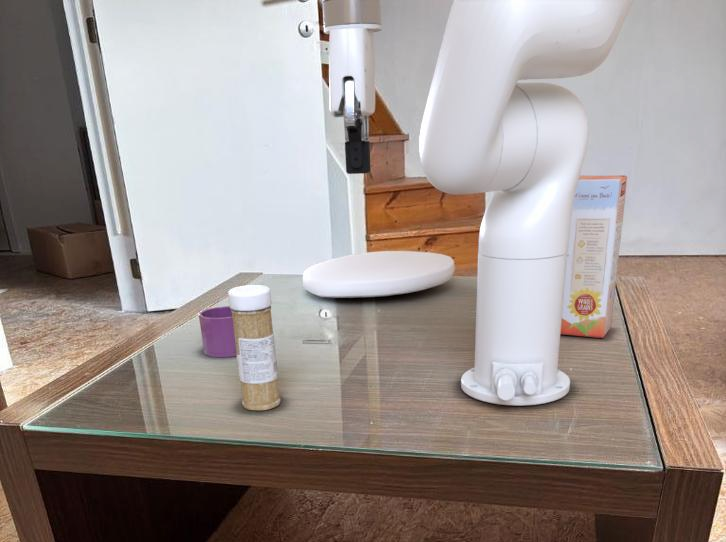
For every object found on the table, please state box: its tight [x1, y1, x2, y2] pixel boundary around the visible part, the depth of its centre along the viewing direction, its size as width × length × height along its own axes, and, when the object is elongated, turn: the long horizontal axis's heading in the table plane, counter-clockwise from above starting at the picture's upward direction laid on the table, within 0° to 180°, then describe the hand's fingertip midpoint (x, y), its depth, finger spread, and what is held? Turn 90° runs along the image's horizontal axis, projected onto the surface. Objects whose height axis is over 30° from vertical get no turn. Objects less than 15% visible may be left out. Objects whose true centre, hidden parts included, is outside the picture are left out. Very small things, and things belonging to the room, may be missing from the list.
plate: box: [302, 250, 456, 299], centre depth 134 cm, size 28×6×27 cm
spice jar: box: [227, 284, 282, 412], centre depth 81 cm, size 5×5×14 cm
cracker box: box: [560, 174, 628, 339], centre depth 102 cm, size 14×6×21 cm, turn 63°
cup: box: [198, 305, 237, 358], centre depth 103 cm, size 7×7×6 cm
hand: (358, 172), depth 102 cm, fingers closed
